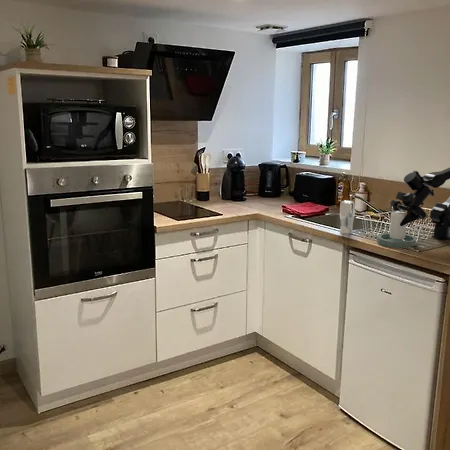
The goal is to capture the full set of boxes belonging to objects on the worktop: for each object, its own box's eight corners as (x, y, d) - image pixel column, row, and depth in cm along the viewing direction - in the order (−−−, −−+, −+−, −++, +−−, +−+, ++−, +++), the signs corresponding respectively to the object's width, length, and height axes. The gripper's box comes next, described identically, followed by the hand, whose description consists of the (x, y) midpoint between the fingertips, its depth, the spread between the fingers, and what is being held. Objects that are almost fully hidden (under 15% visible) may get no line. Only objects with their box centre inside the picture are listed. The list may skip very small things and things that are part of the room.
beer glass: (340, 230, 246) (341, 200, 242) (354, 231, 243) (356, 201, 240) (337, 233, 240) (338, 202, 236) (352, 234, 237) (354, 203, 234)
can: (395, 235, 227) (396, 209, 224) (408, 238, 222) (409, 211, 219) (386, 237, 223) (388, 211, 220) (399, 240, 218) (400, 213, 215)
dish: (397, 236, 233) (397, 231, 233) (424, 245, 219) (424, 239, 218) (369, 240, 227) (370, 235, 226) (396, 249, 212) (396, 244, 212)
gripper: (394, 182, 226) (372, 208, 226) (422, 188, 209) (398, 216, 209) (408, 197, 231) (386, 223, 230) (436, 205, 213) (413, 233, 213)
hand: (395, 223), depth 220 cm, fingers closed on can, 6 cm apart
